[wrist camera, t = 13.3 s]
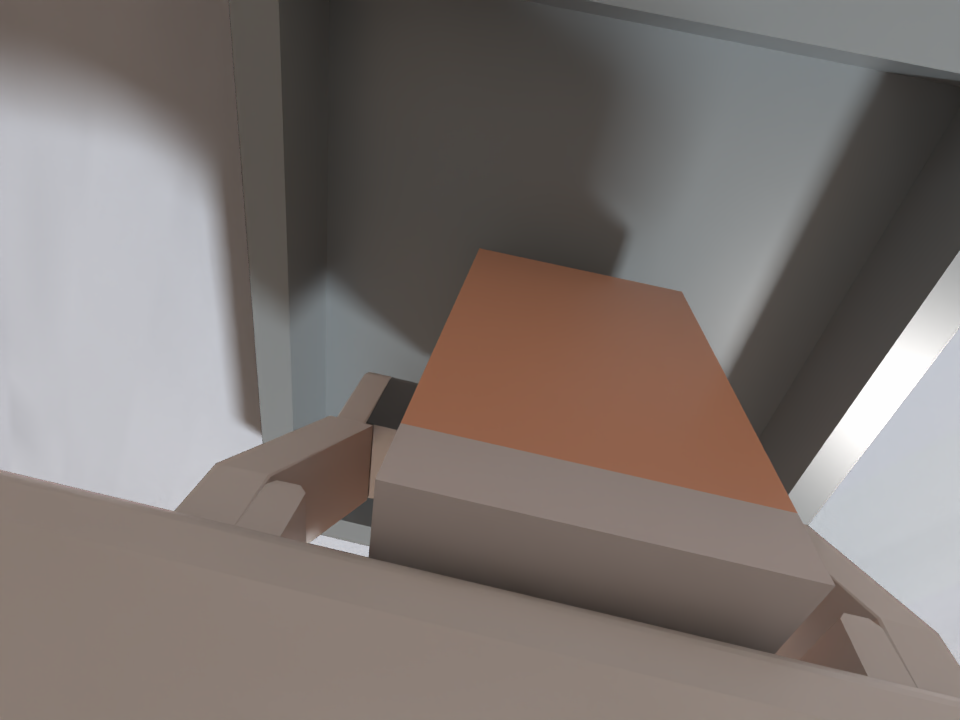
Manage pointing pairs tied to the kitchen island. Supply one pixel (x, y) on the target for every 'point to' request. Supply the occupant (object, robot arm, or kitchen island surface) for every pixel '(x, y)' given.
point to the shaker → (593, 462)
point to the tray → (609, 191)
